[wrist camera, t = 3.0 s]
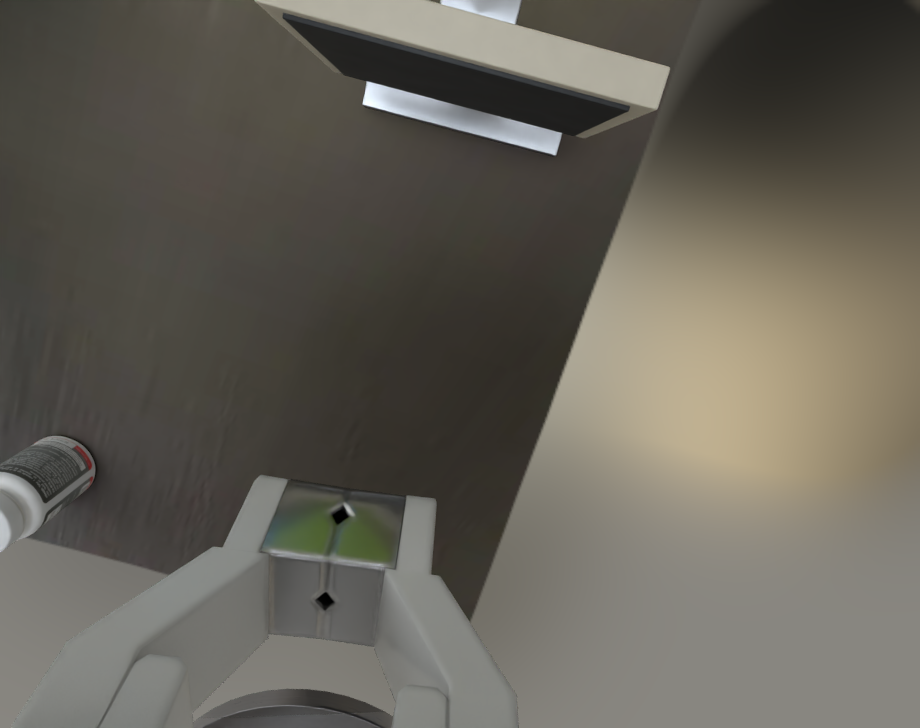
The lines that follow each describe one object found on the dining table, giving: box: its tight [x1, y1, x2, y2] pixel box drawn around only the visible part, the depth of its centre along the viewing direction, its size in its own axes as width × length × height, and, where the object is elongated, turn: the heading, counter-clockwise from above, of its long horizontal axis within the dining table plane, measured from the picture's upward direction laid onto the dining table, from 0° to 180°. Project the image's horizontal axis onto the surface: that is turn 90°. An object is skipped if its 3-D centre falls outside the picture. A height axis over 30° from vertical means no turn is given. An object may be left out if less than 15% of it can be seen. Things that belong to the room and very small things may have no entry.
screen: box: [254, 0, 670, 138], centre depth 22 cm, size 2×12×11 cm, turn 76°
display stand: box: [363, 0, 562, 157], centre depth 30 cm, size 6×12×14 cm, turn 76°
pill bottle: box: [0, 436, 95, 552], centre depth 40 cm, size 5×5×8 cm
